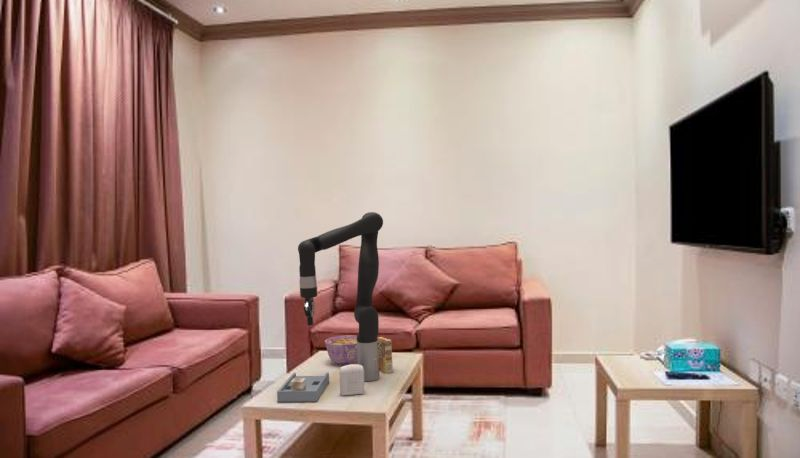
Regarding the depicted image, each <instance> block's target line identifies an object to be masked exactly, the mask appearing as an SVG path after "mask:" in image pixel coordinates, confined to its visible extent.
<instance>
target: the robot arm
mask: <svg viewBox="0 0 800 458" xmlns="http://www.w3.org/2000/svg"><path fill="white" fill-rule="evenodd" d="M383 225H384V219H383V216H381V215H380V214H379V213H377V212H374V211H371V212H370V211H369V212H365V214H363V216H362V217H361V218H360V219H359V220H356V221H355V222H352V223H350V224H347V225H344V226H341V227H337V228H335V229H332V230H329V231H326V232H324V233H322V234H320V235H317V236H314V237H311V238H308V239H306V240H302V241H301V242H300V243H299V244H298V246H297V252H298V256H299V270H298V272H299V293H300V294H299V297H300V298H302V299H304V301H303V311H304V314H305V317H306V319H307V320H306V321H307V326H313V325H314V315H315V307H316V306H315V305H316V301H315V300H314V298H317V297H318V283H317V281H318V280H317V274H316V273H317V272H316V253H318V252H320V251H325V250H328V249H330V248H334V247H336V246H338V245H341V244H343V243H344V242H347V241H349V240H352V239H354V238H356V237H359V236H361V237H360V241H361V242H360V247H359V248H360V249H359V258H358V267H357V290H356V291H357V292H356V293H357V294H356V300H355V307H354V314H353V316H354V320H355V322H356V323H358V334H357V335H356V336H357V357H358V360H357V365H362V366H363V369H364V382H374V381H378V380H379V379H380V371H379V356H378V345H377V338H378V336H379V333H380V332H379V327H380V326H379V313H378V311H377V309H376V308H375V307H373V296H374V295H373V293H374V290H375V287H376V284H377V281H378V278H379V271H380V270H379V267H380V262H379V261H380V260H379V250H378V235H379V231H380V230H381V229H382V228H383Z"/></svg>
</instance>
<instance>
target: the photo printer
mask: <svg viewBox="0 0 800 458" xmlns="http://www.w3.org/2000/svg"><path fill="white" fill-rule="evenodd" d="M339 369H340V370H339V395H340V396H341V397H343V396H354V395H355V396H356V395H364V394H365V381H364V369H363V366H362V365H358V363H353V364H349V365H342V366H340V368H339Z"/></svg>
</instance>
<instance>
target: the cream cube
mask: <svg viewBox="0 0 800 458" xmlns="http://www.w3.org/2000/svg"><path fill="white" fill-rule="evenodd" d="M290 383H291V391H305V390H306V378H294V379H293V380H292V381H291V382H290Z"/></svg>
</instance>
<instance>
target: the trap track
mask: <svg viewBox="0 0 800 458" xmlns="http://www.w3.org/2000/svg"><path fill="white" fill-rule="evenodd" d="M294 378H306V390H305V391H291V383H290V382H291V381H292V380H293V379H294ZM329 383H330V373H329V372H326V373H325V374H324V375H297V372H293V373H292V374H291V375H290V376H289V377H288V378H287V380H286V381H285V382H284V383H283V384H282V385H281V386H280V387H279V388H278V390H277V391H276V396H277V400H276V401H277V403H317V402H318V401H319V399H320V398H321V396H322V394H323V393H324V392H325V390H326V388H327V387H328V385H329Z"/></svg>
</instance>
